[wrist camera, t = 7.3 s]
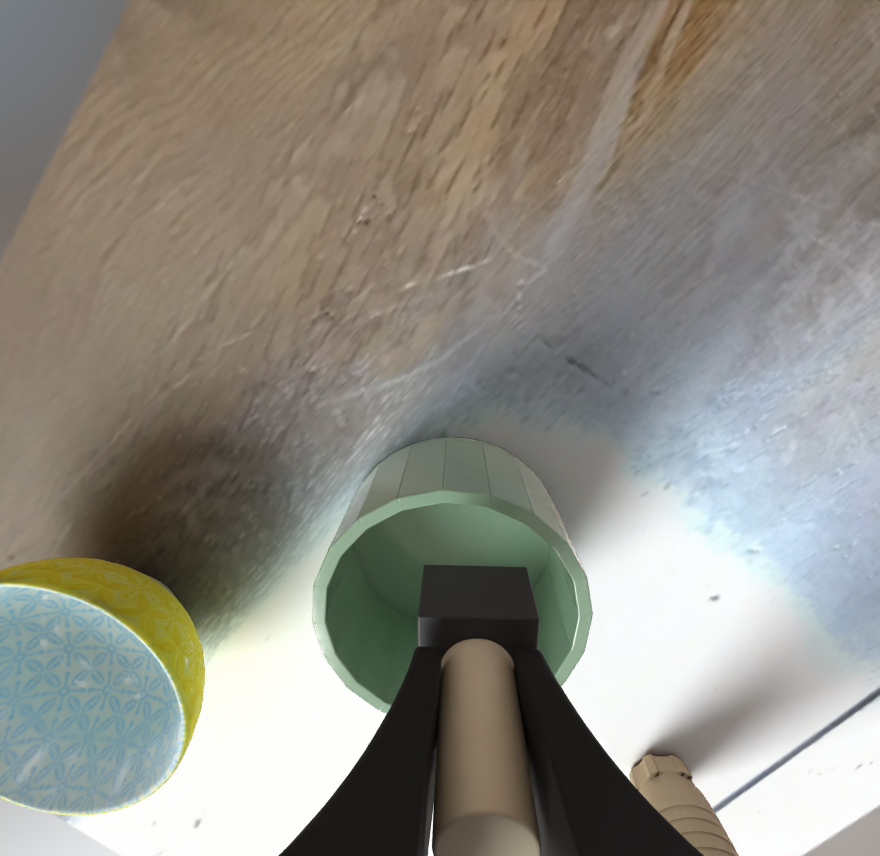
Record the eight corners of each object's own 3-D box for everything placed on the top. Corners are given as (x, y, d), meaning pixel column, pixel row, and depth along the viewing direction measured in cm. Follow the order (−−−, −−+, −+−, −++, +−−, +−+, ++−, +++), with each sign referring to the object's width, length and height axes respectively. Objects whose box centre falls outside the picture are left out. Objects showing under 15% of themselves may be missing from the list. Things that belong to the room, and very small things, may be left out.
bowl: (43, 474, 23) (-100, 539, 17) (275, 556, 24) (216, 645, 18) (13, 657, 26) (-117, 766, 20) (220, 724, 27) (153, 848, 21)
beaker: (444, 391, 21) (440, 431, 16) (602, 531, 23) (650, 614, 17) (306, 541, 24) (257, 624, 18) (458, 659, 25) (459, 769, 20)
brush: (423, 563, 15) (397, 783, 9) (527, 566, 15) (583, 790, 8) (423, 649, 16) (400, 909, 9) (521, 652, 16) (568, 917, 9)
